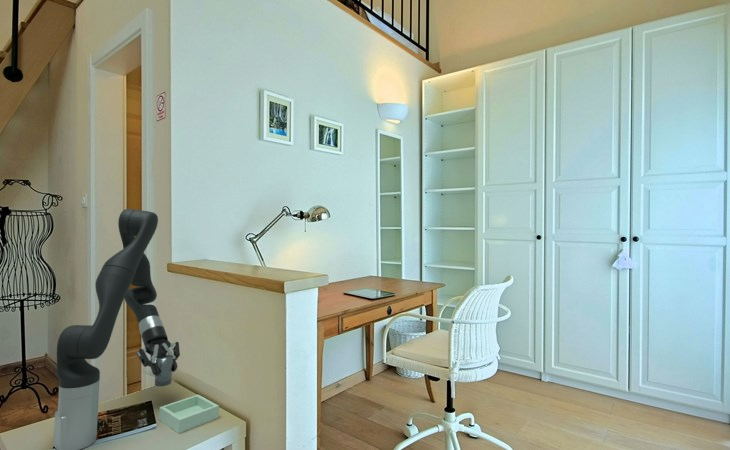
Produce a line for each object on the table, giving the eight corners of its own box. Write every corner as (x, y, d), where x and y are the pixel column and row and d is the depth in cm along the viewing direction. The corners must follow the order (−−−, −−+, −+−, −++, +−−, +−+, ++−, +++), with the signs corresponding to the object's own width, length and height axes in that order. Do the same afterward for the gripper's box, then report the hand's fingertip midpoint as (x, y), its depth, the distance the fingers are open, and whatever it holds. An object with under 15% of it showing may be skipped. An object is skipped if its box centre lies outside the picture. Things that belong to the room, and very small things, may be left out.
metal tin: (158, 387, 127) (160, 360, 127) (152, 383, 130) (153, 357, 131) (174, 383, 131) (175, 357, 131) (167, 379, 134) (169, 354, 135)
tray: (178, 433, 114) (179, 420, 114) (159, 419, 122) (159, 407, 122) (218, 417, 124) (218, 405, 124) (197, 406, 132) (198, 394, 132)
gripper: (134, 328, 130) (148, 371, 123) (176, 322, 142) (191, 361, 134) (127, 341, 133) (140, 384, 126) (168, 334, 145) (182, 373, 137)
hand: (166, 372), depth 130 cm, fingers closed on metal tin, 5 cm apart
